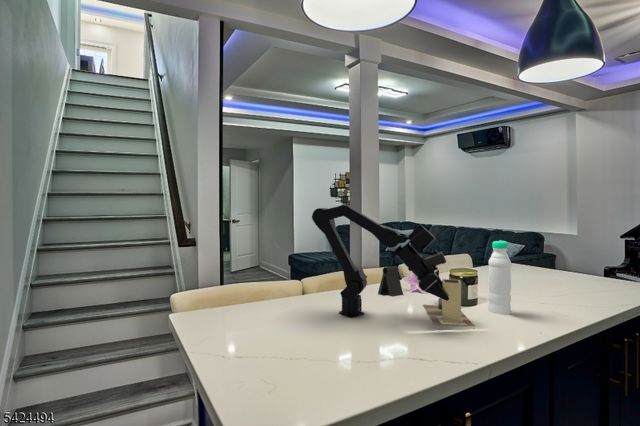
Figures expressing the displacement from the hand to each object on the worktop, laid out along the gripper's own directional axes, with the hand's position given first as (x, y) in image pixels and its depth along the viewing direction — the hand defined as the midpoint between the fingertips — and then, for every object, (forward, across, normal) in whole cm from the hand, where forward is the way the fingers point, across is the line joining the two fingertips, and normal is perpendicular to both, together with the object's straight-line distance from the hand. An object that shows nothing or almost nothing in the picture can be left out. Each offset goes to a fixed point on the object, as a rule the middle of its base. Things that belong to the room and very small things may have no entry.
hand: (447, 296), depth 114 cm
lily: (-1, +40, +14) cm, 42 cm away
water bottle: (+18, +16, -6) cm, 25 cm away
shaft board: (+6, +6, +6) cm, 11 cm away
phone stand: (-9, +29, +22) cm, 37 cm away
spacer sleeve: (+6, 0, +5) cm, 8 cm away
